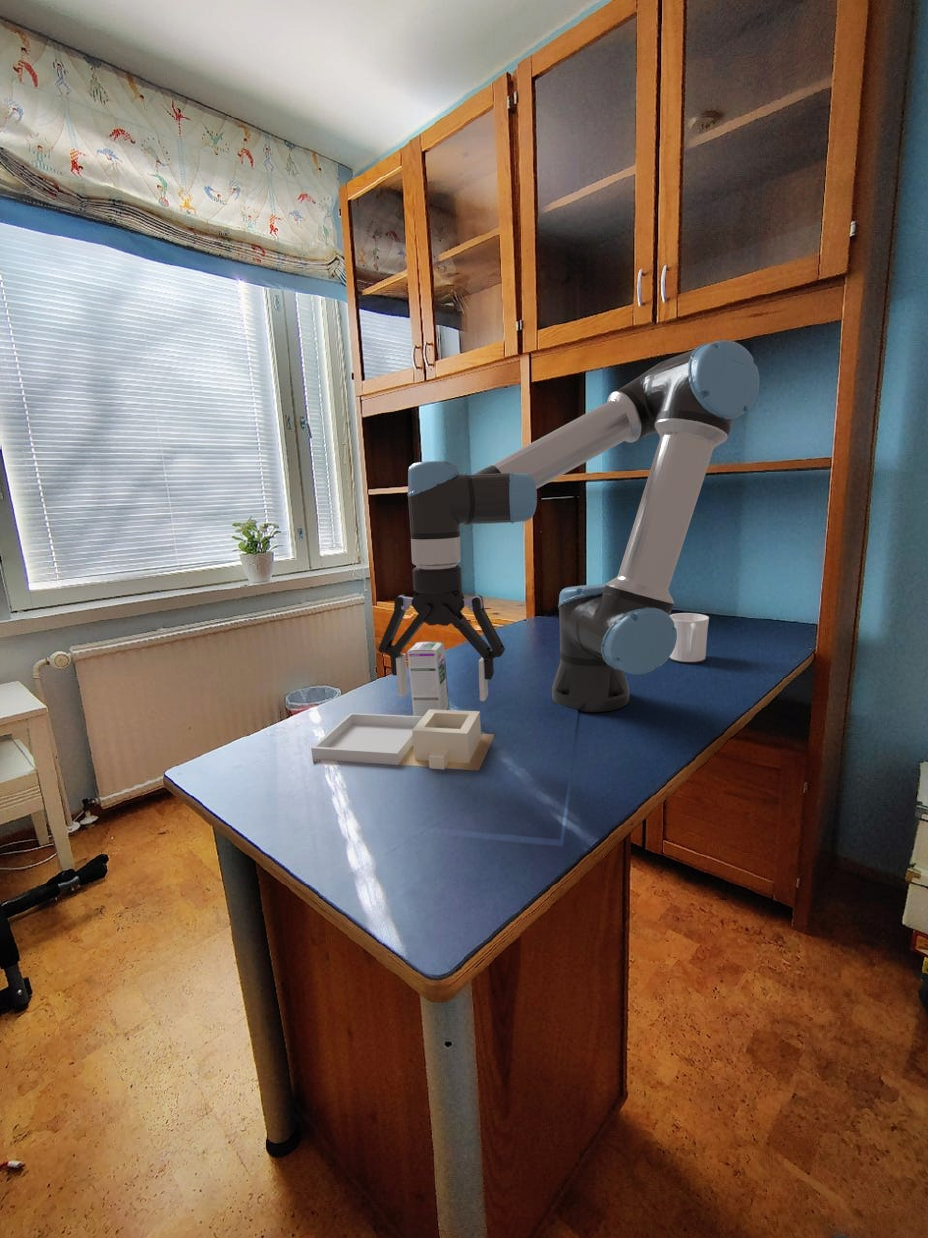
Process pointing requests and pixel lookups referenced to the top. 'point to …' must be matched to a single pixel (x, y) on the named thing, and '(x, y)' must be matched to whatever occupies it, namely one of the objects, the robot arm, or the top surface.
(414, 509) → the robot arm
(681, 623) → the mug
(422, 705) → the syrup box
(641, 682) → the top surface
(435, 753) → the cream hollow block
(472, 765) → the tan square lid
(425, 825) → the top surface
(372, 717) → the tray
